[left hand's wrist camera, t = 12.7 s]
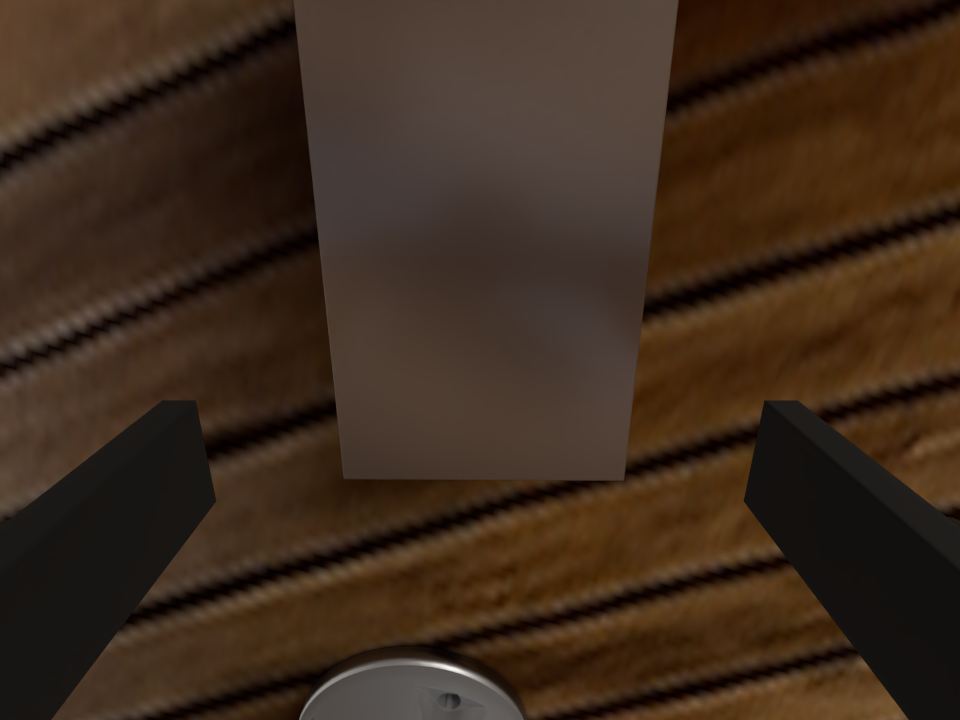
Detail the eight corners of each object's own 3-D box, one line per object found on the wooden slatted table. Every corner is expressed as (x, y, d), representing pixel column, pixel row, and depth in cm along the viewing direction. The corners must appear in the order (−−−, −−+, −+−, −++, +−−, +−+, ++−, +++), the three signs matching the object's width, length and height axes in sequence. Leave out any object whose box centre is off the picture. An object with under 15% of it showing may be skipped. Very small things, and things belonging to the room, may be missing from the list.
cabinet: (356, -42, 21) (275, -163, 13) (614, -43, 21) (697, -164, 13) (385, 381, 28) (343, 479, 19) (582, 381, 28) (624, 481, 19)
